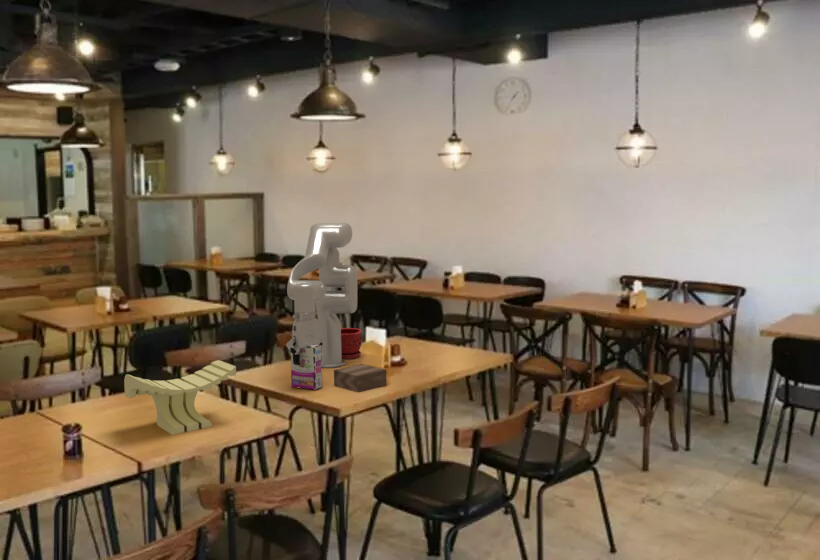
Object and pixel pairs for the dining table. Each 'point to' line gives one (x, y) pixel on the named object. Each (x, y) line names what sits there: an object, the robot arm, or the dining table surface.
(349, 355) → the plant pot
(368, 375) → the walnut riser
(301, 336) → the robot arm
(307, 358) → the candy bar box
